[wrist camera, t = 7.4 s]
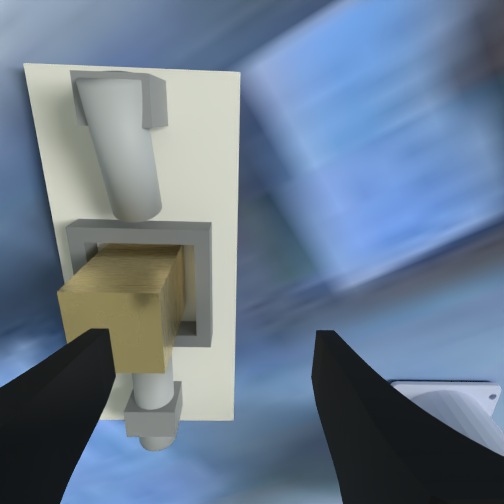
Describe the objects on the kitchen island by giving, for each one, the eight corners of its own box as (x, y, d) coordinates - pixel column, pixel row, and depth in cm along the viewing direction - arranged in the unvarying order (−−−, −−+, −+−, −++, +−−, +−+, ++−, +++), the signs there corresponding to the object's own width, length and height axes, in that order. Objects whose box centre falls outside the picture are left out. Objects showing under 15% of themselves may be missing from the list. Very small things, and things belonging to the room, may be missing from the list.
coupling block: (186, 304, 21) (165, 373, 15) (119, 303, 21) (73, 372, 15) (183, 241, 19) (158, 293, 14) (111, 240, 19) (56, 291, 14)
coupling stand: (233, 409, 25) (231, 482, 20) (95, 408, 25) (58, 482, 20) (240, 74, 17) (238, 57, 12) (35, 66, 17) (-54, 45, 12)
